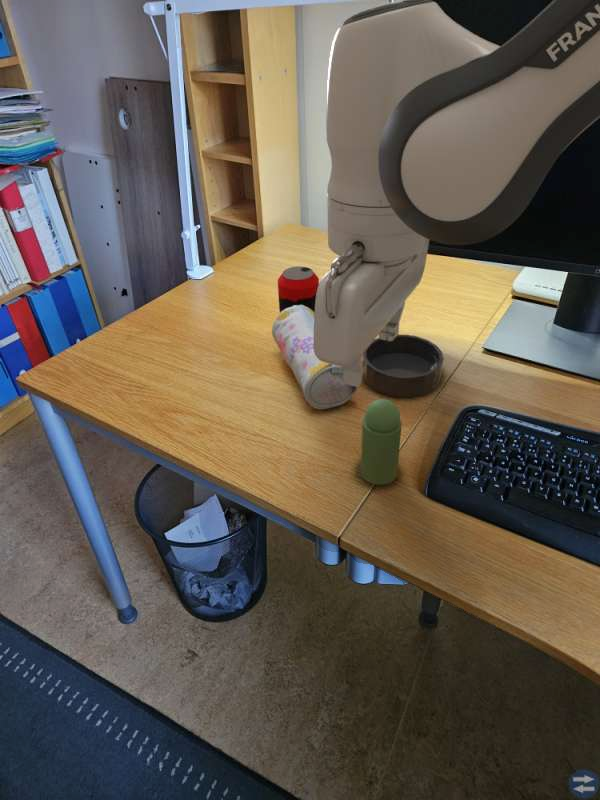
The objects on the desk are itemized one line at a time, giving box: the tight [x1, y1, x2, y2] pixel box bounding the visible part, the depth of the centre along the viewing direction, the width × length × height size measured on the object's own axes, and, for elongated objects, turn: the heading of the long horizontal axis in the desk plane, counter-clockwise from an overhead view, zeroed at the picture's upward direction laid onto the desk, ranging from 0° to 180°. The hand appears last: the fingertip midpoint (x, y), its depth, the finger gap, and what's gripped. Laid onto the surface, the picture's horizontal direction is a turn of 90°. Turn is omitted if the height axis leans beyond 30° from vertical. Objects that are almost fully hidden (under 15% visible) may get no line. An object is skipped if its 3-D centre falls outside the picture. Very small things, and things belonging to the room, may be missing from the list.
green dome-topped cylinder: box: [360, 398, 403, 486], centre depth 73 cm, size 5×5×12 cm
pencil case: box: [271, 305, 358, 410], centre depth 93 cm, size 21×9×10 cm, turn 18°
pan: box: [362, 334, 445, 399], centre depth 94 cm, size 13×13×4 cm
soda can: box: [277, 266, 320, 314], centre depth 105 cm, size 8×8×12 cm
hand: (372, 358), depth 58 cm, fingers open, 8 cm apart
